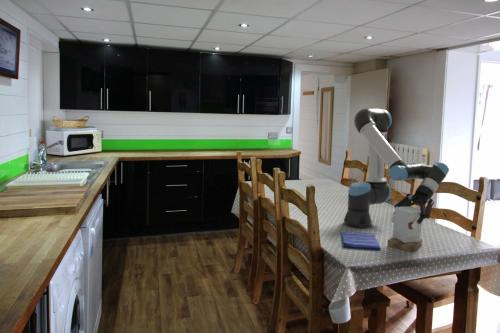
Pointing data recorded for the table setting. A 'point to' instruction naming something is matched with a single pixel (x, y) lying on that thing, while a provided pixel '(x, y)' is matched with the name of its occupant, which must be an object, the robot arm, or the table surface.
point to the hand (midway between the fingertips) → (402, 224)
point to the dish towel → (359, 240)
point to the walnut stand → (404, 244)
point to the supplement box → (406, 224)
